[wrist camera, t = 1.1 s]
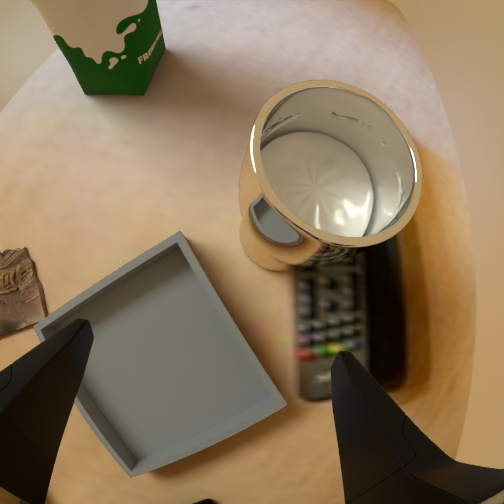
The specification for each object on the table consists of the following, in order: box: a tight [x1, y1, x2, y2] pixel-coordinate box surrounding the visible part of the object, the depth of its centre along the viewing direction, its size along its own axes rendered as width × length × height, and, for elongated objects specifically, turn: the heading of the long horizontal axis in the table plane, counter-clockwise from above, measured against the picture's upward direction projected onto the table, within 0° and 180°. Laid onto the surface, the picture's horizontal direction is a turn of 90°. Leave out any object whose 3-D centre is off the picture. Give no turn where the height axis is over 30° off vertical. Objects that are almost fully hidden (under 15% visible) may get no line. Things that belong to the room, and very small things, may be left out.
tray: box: [33, 231, 288, 478], centre depth 21 cm, size 15×15×2 cm
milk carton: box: [30, 0, 165, 95], centre depth 16 cm, size 9×9×20 cm
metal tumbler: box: [239, 80, 422, 271], centre depth 17 cm, size 7×7×15 cm
